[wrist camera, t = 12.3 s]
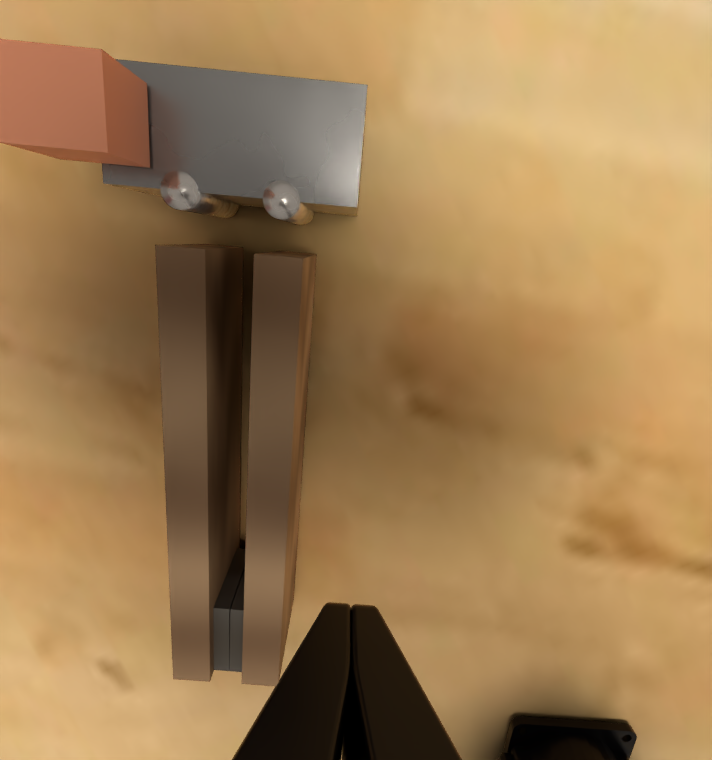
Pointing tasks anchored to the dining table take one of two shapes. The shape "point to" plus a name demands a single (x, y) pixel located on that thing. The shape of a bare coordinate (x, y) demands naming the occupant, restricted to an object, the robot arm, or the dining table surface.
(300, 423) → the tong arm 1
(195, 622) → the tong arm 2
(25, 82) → the tab
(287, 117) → the grey block
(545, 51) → the dining table surface
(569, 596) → the dining table surface
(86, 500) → the dining table surface
